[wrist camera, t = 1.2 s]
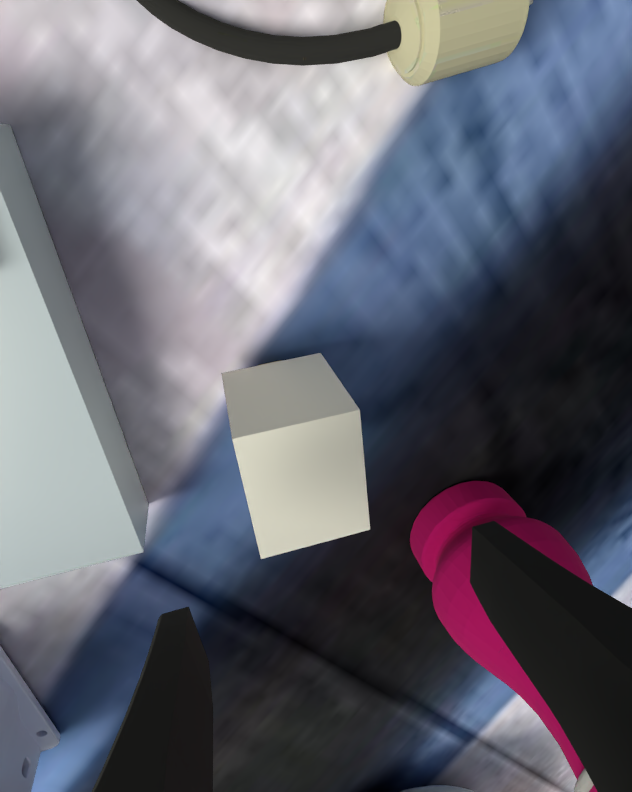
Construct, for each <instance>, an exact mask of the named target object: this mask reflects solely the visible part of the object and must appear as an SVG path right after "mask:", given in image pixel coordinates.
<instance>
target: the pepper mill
mask: <svg viewBox="0 0 632 792" xmlns="http://www.w3.org/2000/svg"><path fill="white" fill-rule="evenodd" d="M491 521H495V522H497V523H498V524H500V525H501V526H503V527H504V528H506V529H507V530H509V531H510V532H512V533H513V534H514V535H516V536H517V537H519V538H520V539H522V540H523V541H525V542H526V543H528V544H529V545H531V546H532V547H534V548H535V549H537V550H538V551H540V552H541V553H542V554H544V555H545V556H547V557H548V558H550V559H551V560H553V561H555V562H556V563H558V564H559V565H561V566H562V567H564V568H565V569H567V570H569V571H570V572H572V573H573V574H575V575H576V576H578V577H580V578H581V579H583V580H584V581H586V582H587V583H589V584H591V585H592V586H593V584H592V582H591V579H590V576H589V574H588V572H587V570H586V569H585V567H584V565H583V563H582V561H581V559H580V558H579V556H578V554H577V553H576V552H575V551H574V549H573V548H572V547H571V546H570V545H569V543H568V542H567V541H566V540H565V539H564V537H563V536H562V535H561V534H560V533H559V532H558V531H557V530H555V529H554V528H553V527H551V526H550V525H548V524H546V523H544V522H542V521H539V520H537V519H532V518H527V517H526V514H525V512H524V511H523V509H522V508H521V507H520V506H519V505H518V504H517V503H516V502H515V501H514V500H513V499H512V498H511V497H510V496H509V494H508V493H507V492H506V491H505V490H504V489H503V488H501V487H499V486H498V485H496V484H494V483H491V482H487V481H469V482H464V483H459V484H457V485H454V486H452V487H450V488H447V489H445V490H444V491H442V492H441V493H439V494H438V495H436V496H435V497H433V498H432V499H431V500H430V501H429V502H428V503H427V504H426V505H425V506H424V507H423V508H422V510H421V511H420V513H419V514H418V516H417V518H416V519H415V521H414V523H413V527H412V530H411V534H410V545H411V549H412V552H413V554H414V556H415V557H416V559H417V561H418V563H419V564H420V566H421V568H422V570H423V571H424V573H425V575H426V576H427V577H428V579H429V580H430V581H432V582H433V585H432V599H433V604H434V608H435V611H436V613H437V616H438V618H439V619H440V621H441V622H442V624H443V625H444V627H445V628H446V630H447V631H448V633H449V634H450V635H451V637H452V638H453V639H454V641H455V642H456V643H457V644H458V645H459V646H460V647H461V648H462V649H463V650H464V651H465V652H466V653H467V654H468V655H469V656H470V657H471V658H473V659H474V660H475V661H476V662H477V663H479V664H480V665H481V666H483V667H484V668H485V669H487V670H488V671H489V672H491V673H492V674H493V675H495V676H496V677H497V678H499V679H500V680H501V681H503V682H504V683H505V684H507V685H508V686H509V687H510V688H512V689H513V690H514V691H515V692H516V693H517V694H519V695H520V696H521V697H522V698H523V699H524V700H525V701H526V703H527V704H528V705H529V706H530V707H531V708H532V709H533V710H534V711H535V712H536V713H537V714H538V716H539V717H540V718H541V720H542V721H543V723H544V724H545V725H546V727H547V728H548V730H549V731H550V732H551V734H552V735H553V737H554V738H555V739H556V741H557V742H558V744H559V745H560V747H561V749H562V751H563V753H564V755H565V757H566V759H567V761H568V763H569V764H570V766H571V768H572V770H573V772H574V774H575V776H576V778H577V782H576V784H575V788H574V792H597V790H596V788H595V786H594V784H593V782H592V781H591V779H590V777H589V775H588V773H587V771H586V770H585V768H584V766H583V764H582V763H581V761H580V759H579V757H578V755H577V754H576V752H575V750H574V748H573V747H572V745H571V743H570V741H569V740H568V738H567V736H566V734H565V733H564V731H563V729H562V727H561V726H560V724H559V723H558V721H557V719H556V718H555V716H554V715H553V713H552V712H551V710H550V708H549V707H548V705H547V704H546V702H545V701H544V699H543V698H542V697H541V695H540V694H539V692H538V691H537V689H536V688H535V686H534V685H533V683H532V682H531V680H530V679H529V678H528V676H527V675H526V673H525V672H524V670H523V669H522V667H521V666H520V664H519V663H518V662H517V660H516V659H515V657H514V656H513V654H512V653H511V651H510V650H509V648H508V647H507V645H506V644H505V642H504V641H503V640H502V638H501V637H500V635H499V634H498V632H497V631H496V629H495V628H494V626H493V625H492V623H491V622H490V620H489V618H488V616H487V614H486V613H485V611H484V609H483V607H482V605H481V603H480V601H479V599H478V598H477V596H476V594H475V592H474V590H473V588H472V586H471V584H470V567H471V544H472V527H473V526H477V525H480V524H484V523H488V522H491Z"/></svg>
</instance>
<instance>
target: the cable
mask: <svg viewBox="0 0 632 792" xmlns="http://www.w3.org/2000/svg"><path fill="white" fill-rule="evenodd" d="M137 1H138V2H139V3H140V4H141V5H142V6H144V7H145V8H146V9H147V10H148V11H149V12H150V13H151V14H153V15H154V16H155V17H157V18H158V19H159V20H161V21H162V22H164V23H165V24H166V25H168V26H169V27H171V28H172V29H174V30H176V31H178V32H180V33H181V34H183V35H185V36H187V37H189V38H191V39H192V40H195V41H197V42H199V43H202V44H204V45H206V46H209V47H211V48H213V49H216V50H218V51H222V52H225V53H228V54H232V55H235V56H238V57H241V58H245V59H251V60H256V61H262V62H267V63H273V64H289V65H318V64H334V63H341V62H347V61H352V60H357V59H363V58H368V57H373V56H376V55H379V54H382V53H386V52H387V54H388V57H389V59H390V62H391V63H392V65H393V67H394V69H395V70H396V71H397V73H398V74H399V75H400V76H401V77H402V79H403V80H404V81H406V82H407V83H408V84H410V85H412V86H419V85H423V84H426V83H429V82H433V81H436V80H440V79H443V78H446V77H450V76H453V75H457V74H460V73H463V72H467V71H470V70H473V69H477V68H480V67H484V66H487V65H490V64H494V63H497V62H500V61H502V60H504V59H505V58H506V57H508V56H509V55H510V54H511V52H512V51H513V50H514V49H515V47H516V46H517V44H518V42H519V40H520V38H521V36H522V33H523V31H524V28H525V24H526V21H527V16H528V10H529V5H531V4H532V3H533V0H387V2H386V6H385V11H384V21H383V24H382V25H379V26H376V27H372V28H369V29H364V30H359V31H354V32H349V33H343V34H338V35H329V36H313V37H293V36H277V35H270V34H264V33H259V32H254V31H249V30H245V29H241V28H238V27H235V26H232V25H229V24H225V23H222V22H220V21H217V20H215V19H213V18H211V17H208V16H206V15H204V14H201V13H199V12H197V11H196V10H194V9H192V8H190V7H188V6H187V5H185V4H183V3H181V2H180V1H178V0H137Z"/></svg>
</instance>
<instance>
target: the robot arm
mask: <svg viewBox="0 0 632 792" xmlns="http://www.w3.org/2000/svg"><path fill="white" fill-rule="evenodd" d="M470 584H471V586H472V588H473V590H474V592H475V594H476V596H477V598H478V599H479V601H480V603H481V605H482V607H483V609H484V611H485V613H486V614H487V616H488V618H489V620H490V622H491V623H492V625H493V626H494V628H495V629H496V631H497V632H498V634H499V635H500V637H501V638H502V640H503V641H504V642H505V644H506V645H507V647H508V648H509V650H510V651H511V653H512V654H513V656H514V657H515V659H516V660H517V662H518V663H519V664H520V666H521V667H522V669H523V670H524V672H525V673H526V675H527V676H528V678H529V679H530V680H531V682H532V683H533V685H534V686H535V688H536V689H537V691H538V692H539V694H540V695H541V697H542V698H543V699H544V701H545V702H546V704H547V705H548V707H549V708H550V710H551V712H552V713H553V715H554V716H555V718H556V719H557V721H558V723H559V724H560V726H561V727H562V729H563V731H564V733H565V734H566V736H567V738H568V740H569V741H570V743H571V745H572V747H573V748H574V750H575V752H576V754H577V755H578V757H579V759H580V761H581V763H582V764H583V766H584V768H585V770H586V771H587V773H588V775H589V777H590V779H591V781H592V782H593V784H594V786H595V788H596V790H597V792H632V608H630V607H628V606H627V605H625V604H623V603H621V602H620V601H618V600H616V599H615V598H613V597H611V596H609V595H608V594H606V593H604V592H602V591H601V590H599V589H597V588H596V587H594V586H592V585H591V584H589V583H587V582H586V581H584V580H583V579H581V578H580V577H578V576H576V575H575V574H573V573H572V572H570V571H569V570H567V569H565V568H564V567H562V566H561V565H559V564H558V563H556V562H555V561H553V560H551V559H550V558H548V557H547V556H545V555H544V554H542V553H541V552H540V551H538V550H537V549H535V548H534V547H532V546H531V545H529V544H528V543H526V542H525V541H523V540H522V539H520V538H519V537H517V536H516V535H514V534H513V533H512V532H510V531H509V530H507V529H506V528H504V527H503V526H501V525H500V524H498V523H497V522H495V521H491V522H488V523H484V524H480V525H477V526H473V527H472V544H471V567H470ZM59 741H60V733H59V732H58V730H57V729H56V727H55V726H54V724H53V723H52V722H51V720H50V719H49V717H48V716H47V714H46V713H45V711H44V710H43V708H42V707H41V705H40V704H39V702H38V701H37V699H36V698H35V696H34V695H33V693H32V692H31V690H30V689H29V687H28V686H27V684H26V683H25V682H24V680H23V679H22V677H21V676H20V674H19V673H18V671H17V670H16V668H15V667H14V665H13V664H12V662H11V661H10V659H9V658H8V656H7V655H6V653H5V652H4V650H3V649H2V647H1V646H0V792H31V789H32V785H33V781H34V777H35V773H36V769H37V765H38V761H39V757H40V753H41V751H44V750H48V749H51V748H53V747H55V746H57V745H58V744H59ZM92 792H213V703H212V691H211V681H210V671H209V661H208V658H207V656H206V653H205V650H204V648H203V645H202V642H201V639H200V637H199V634H198V631H197V628H196V626H195V623H194V620H193V618H192V615H191V612H190V609H189V607H186V608H182V609H179V610H175V611H172V612H168V613H165V614H162V615H161V616H160V617H159V619H158V622H157V626H156V629H155V633H154V636H153V639H152V643H151V646H150V649H149V652H148V655H147V658H146V661H145V664H144V667H143V670H142V673H141V675H140V678H139V681H138V684H137V686H136V689H135V692H134V694H133V697H132V699H131V702H130V705H129V707H128V710H127V712H126V715H125V718H124V720H123V723H122V725H121V727H120V730H119V732H118V734H117V737H116V739H115V741H114V744H113V746H112V748H111V750H110V753H109V755H108V757H107V760H106V762H105V764H104V767H103V769H102V771H101V773H100V775H99V778H98V780H97V782H96V784H95V786H94V788H93V790H92Z"/></svg>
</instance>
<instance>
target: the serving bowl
mask: <svg viewBox="0 0 632 792" xmlns="http://www.w3.org/2000/svg"><path fill="white" fill-rule="evenodd" d="M400 792H475V791H472V790H469V789H465V788H461V787H456V786H448V785H431V786H423V787H416V788H411V789H407V790H403V791H400Z"/></svg>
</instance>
